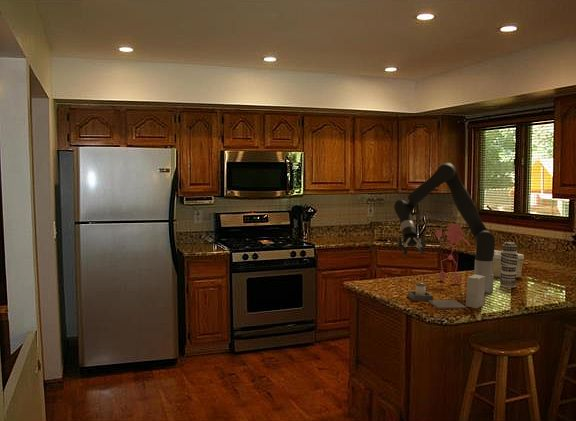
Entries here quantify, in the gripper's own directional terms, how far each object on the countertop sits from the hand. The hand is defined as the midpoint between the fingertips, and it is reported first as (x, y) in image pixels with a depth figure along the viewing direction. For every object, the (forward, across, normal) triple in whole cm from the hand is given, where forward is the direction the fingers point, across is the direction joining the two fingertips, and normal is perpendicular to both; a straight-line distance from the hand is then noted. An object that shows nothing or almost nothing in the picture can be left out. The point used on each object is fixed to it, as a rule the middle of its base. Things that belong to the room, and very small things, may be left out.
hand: (414, 254), depth 286 cm
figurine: (-5, +34, +34) cm, 48 cm away
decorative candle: (+3, +61, +26) cm, 67 cm away
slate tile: (+32, +9, -3) cm, 34 cm away
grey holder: (+23, 0, +7) cm, 24 cm away
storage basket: (-18, +71, +47) cm, 87 cm away
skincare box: (+34, +22, -5) cm, 41 cm away
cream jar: (+23, 0, +7) cm, 24 cm away
